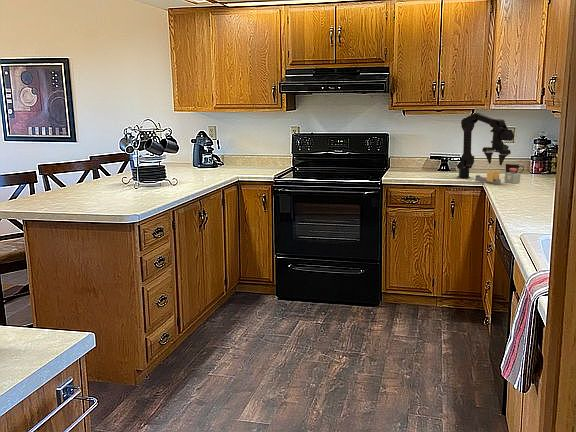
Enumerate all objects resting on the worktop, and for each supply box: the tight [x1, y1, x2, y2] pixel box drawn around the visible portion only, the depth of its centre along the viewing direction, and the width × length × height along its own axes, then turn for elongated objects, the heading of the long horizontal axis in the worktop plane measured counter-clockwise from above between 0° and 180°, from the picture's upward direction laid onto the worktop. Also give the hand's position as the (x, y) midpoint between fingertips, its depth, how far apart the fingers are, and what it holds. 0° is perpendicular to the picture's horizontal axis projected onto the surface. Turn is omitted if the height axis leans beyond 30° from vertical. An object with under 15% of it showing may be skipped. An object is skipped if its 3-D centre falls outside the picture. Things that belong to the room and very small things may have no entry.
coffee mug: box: [505, 162, 525, 174], centre depth 396 cm, size 12×9×10 cm
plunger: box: [510, 168, 517, 174], centre depth 379 cm, size 4×4×6 cm
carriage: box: [486, 169, 501, 182], centre depth 376 cm, size 5×6×6 cm
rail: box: [475, 174, 502, 185], centre depth 380 cm, size 19×3×3 cm, turn 26°
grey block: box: [504, 172, 521, 184], centre depth 380 cm, size 7×6×6 cm
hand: (495, 164), depth 375 cm, fingers open, 9 cm apart
